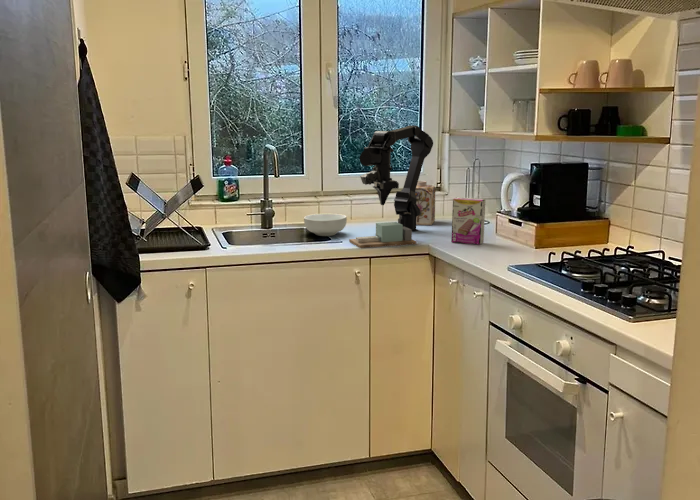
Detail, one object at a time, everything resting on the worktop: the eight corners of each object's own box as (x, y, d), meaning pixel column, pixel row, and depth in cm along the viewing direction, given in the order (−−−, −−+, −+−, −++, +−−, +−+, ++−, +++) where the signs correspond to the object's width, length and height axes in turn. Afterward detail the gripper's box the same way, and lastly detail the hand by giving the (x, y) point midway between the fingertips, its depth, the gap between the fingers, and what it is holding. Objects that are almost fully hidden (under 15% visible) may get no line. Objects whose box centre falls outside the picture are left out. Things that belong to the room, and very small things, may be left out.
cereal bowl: (313, 229, 292) (313, 212, 290) (352, 231, 287) (352, 214, 285) (297, 236, 276) (297, 218, 275) (337, 239, 271) (337, 220, 269)
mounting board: (404, 238, 273) (404, 235, 272) (416, 244, 261) (416, 241, 261) (349, 241, 266) (349, 239, 266) (359, 248, 255) (359, 245, 254)
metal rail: (406, 238, 268) (406, 234, 268) (409, 239, 265) (409, 235, 265) (355, 241, 262) (355, 237, 261) (358, 242, 259) (358, 238, 259)
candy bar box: (450, 242, 264) (452, 198, 261) (454, 240, 269) (456, 196, 266) (480, 245, 260) (482, 200, 256) (484, 242, 264) (485, 198, 261)
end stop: (404, 237, 270) (404, 226, 269) (411, 240, 263) (411, 229, 262) (398, 237, 269) (398, 227, 268) (405, 240, 262) (405, 230, 262)
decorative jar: (435, 221, 312) (436, 180, 308) (432, 225, 301) (433, 182, 297) (408, 220, 314) (408, 179, 311) (404, 224, 303) (404, 182, 300)
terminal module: (395, 237, 268) (396, 221, 267) (402, 240, 262) (402, 224, 261) (375, 239, 266) (375, 223, 265) (381, 242, 260) (382, 225, 259)
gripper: (354, 162, 279) (354, 202, 282) (371, 167, 261) (371, 209, 264) (381, 162, 282) (381, 201, 285) (399, 166, 265) (399, 208, 268)
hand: (382, 205), depth 276 cm, fingers closed
